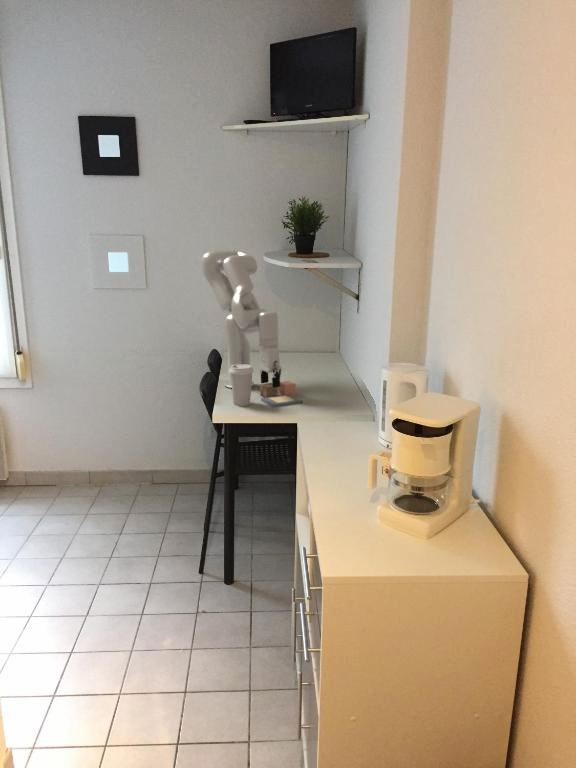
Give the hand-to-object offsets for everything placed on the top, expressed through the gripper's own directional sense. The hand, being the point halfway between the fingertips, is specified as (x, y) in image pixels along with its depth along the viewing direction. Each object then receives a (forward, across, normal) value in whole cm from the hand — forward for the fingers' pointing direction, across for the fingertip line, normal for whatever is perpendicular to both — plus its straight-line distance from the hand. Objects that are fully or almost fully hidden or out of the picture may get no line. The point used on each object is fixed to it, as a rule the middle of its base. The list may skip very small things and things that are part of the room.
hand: (270, 384), depth 262 cm
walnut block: (+5, -2, 0) cm, 5 cm away
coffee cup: (+5, +2, -14) cm, 15 cm away
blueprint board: (+6, +8, +1) cm, 9 cm away
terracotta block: (+5, 0, +8) cm, 9 cm away
